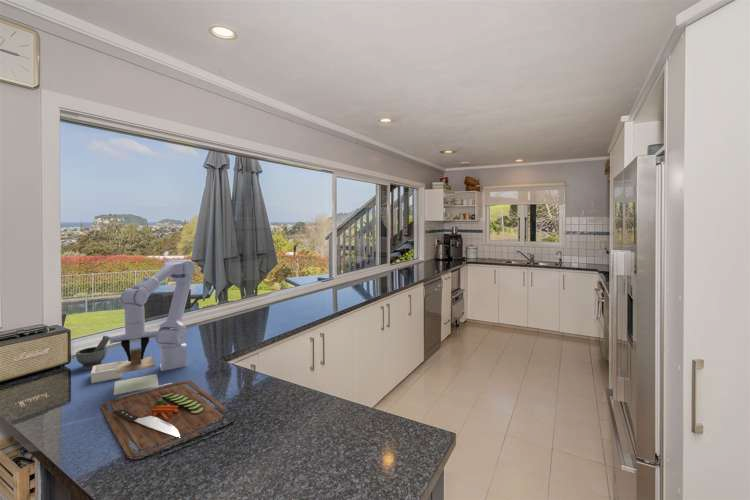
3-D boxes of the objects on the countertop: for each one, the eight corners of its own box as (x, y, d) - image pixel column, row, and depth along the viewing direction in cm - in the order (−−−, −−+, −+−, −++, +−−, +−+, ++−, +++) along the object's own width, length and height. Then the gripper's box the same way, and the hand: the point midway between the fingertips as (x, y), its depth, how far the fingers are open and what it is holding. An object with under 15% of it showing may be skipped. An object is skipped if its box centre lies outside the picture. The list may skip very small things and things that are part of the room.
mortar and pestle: (77, 373, 138) (76, 342, 138) (75, 366, 145) (74, 337, 145) (112, 366, 146) (112, 337, 145) (110, 360, 153) (109, 332, 152)
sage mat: (156, 374, 137) (156, 373, 137) (158, 386, 126) (158, 385, 126) (114, 382, 130) (114, 381, 130) (113, 396, 119) (113, 395, 119)
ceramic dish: (122, 371, 141) (122, 361, 141) (121, 378, 133) (121, 368, 133) (93, 376, 136) (93, 365, 135) (91, 384, 128) (90, 373, 128)
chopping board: (243, 425, 102) (243, 415, 102) (132, 470, 83) (132, 457, 82) (187, 380, 133) (187, 372, 133) (97, 405, 114) (97, 396, 114)
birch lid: (153, 358, 135) (152, 343, 135) (154, 366, 126) (154, 350, 126) (117, 364, 129) (117, 348, 129) (116, 373, 120) (116, 356, 120)
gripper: (108, 327, 120) (110, 367, 120) (159, 321, 128) (160, 358, 128) (109, 323, 125) (111, 361, 126) (157, 317, 134) (158, 353, 134)
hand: (135, 359), depth 128 cm, fingers closed on birch lid, 3 cm apart
